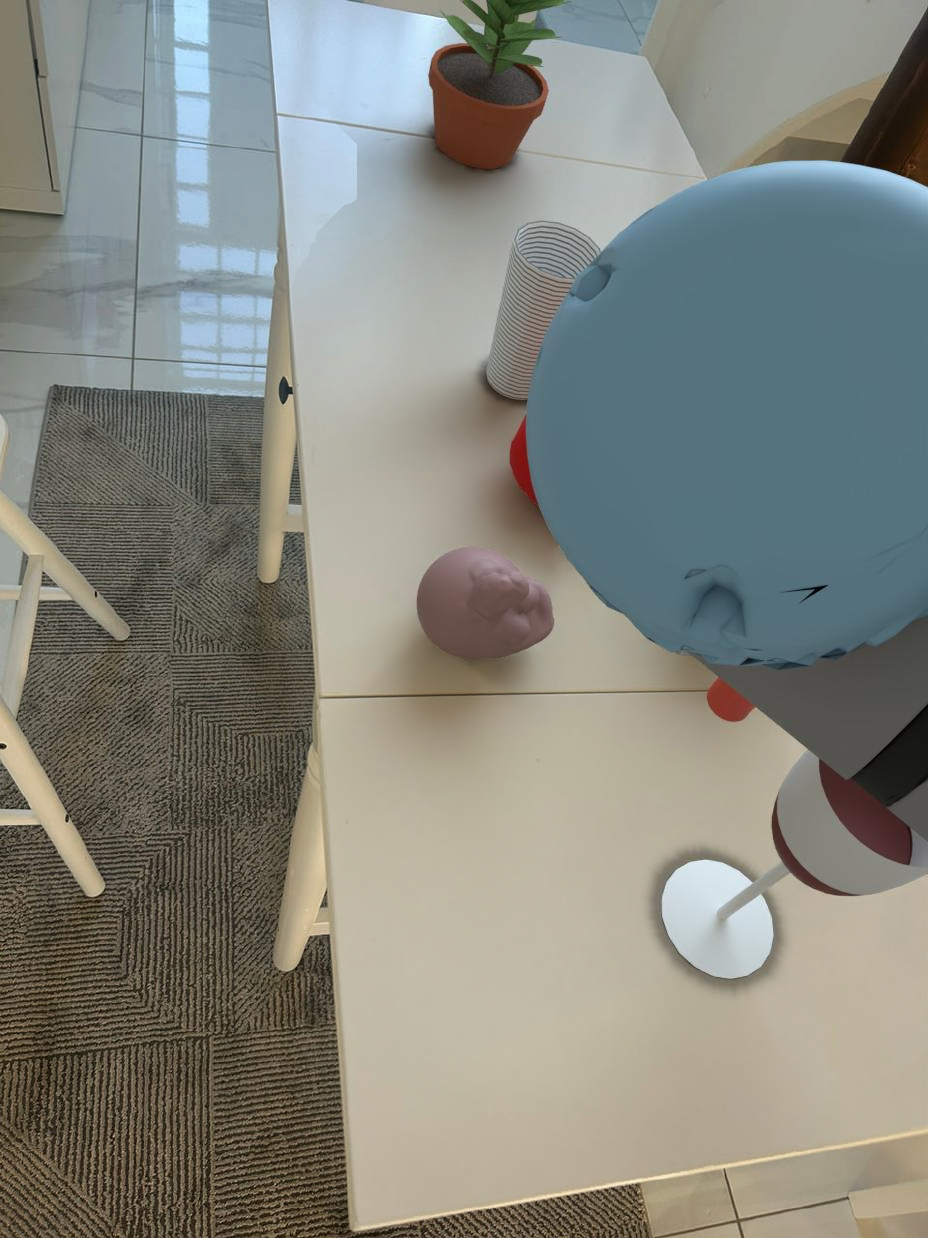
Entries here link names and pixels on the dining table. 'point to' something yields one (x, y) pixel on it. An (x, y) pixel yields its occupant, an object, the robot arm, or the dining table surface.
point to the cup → (533, 299)
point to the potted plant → (489, 84)
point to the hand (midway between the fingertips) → (816, 615)
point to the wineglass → (791, 868)
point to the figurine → (482, 605)
